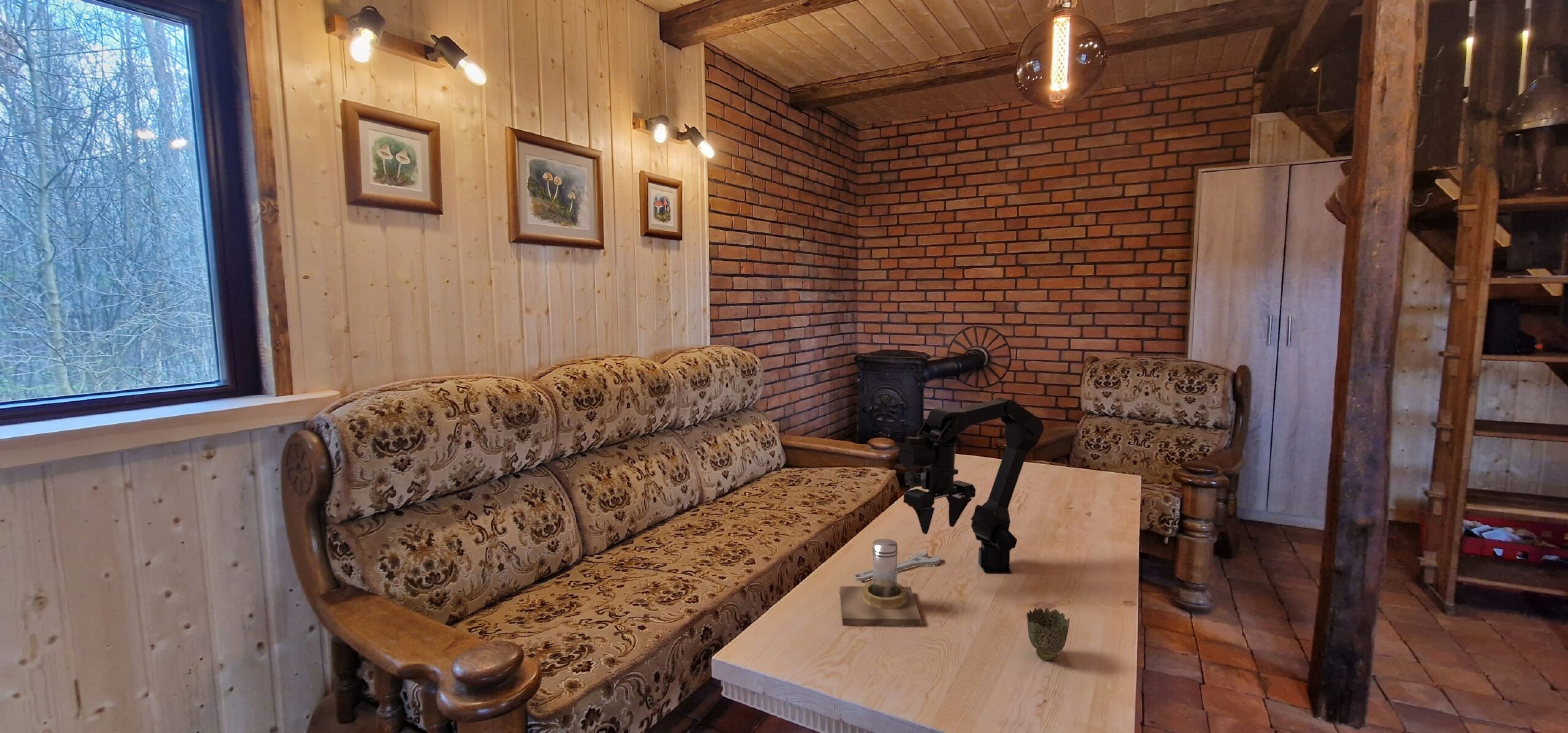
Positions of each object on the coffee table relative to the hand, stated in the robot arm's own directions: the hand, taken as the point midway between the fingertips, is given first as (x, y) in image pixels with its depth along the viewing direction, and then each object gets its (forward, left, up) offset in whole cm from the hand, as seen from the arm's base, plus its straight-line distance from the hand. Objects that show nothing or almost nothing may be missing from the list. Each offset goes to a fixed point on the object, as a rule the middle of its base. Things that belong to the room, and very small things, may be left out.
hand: (938, 530), depth 157 cm
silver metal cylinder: (+14, +12, -11) cm, 21 cm away
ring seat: (+15, +13, -13) cm, 24 cm away
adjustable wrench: (+9, -8, -13) cm, 18 cm away
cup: (-14, +32, -13) cm, 37 cm away
